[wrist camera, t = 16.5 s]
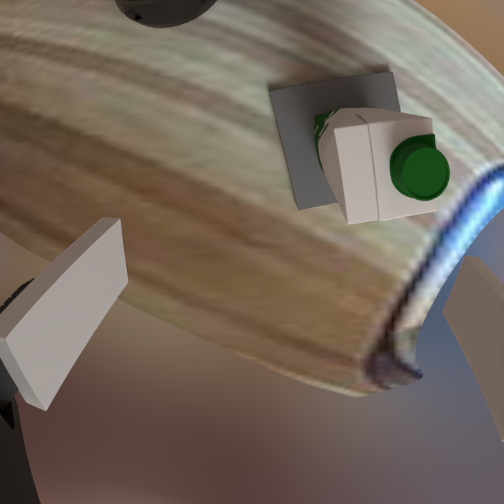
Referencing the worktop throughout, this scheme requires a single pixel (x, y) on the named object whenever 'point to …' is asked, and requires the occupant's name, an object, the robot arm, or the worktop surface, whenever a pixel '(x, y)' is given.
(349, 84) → the charcoal mat
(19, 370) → the robot arm
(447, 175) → the soya milk
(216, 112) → the worktop surface
